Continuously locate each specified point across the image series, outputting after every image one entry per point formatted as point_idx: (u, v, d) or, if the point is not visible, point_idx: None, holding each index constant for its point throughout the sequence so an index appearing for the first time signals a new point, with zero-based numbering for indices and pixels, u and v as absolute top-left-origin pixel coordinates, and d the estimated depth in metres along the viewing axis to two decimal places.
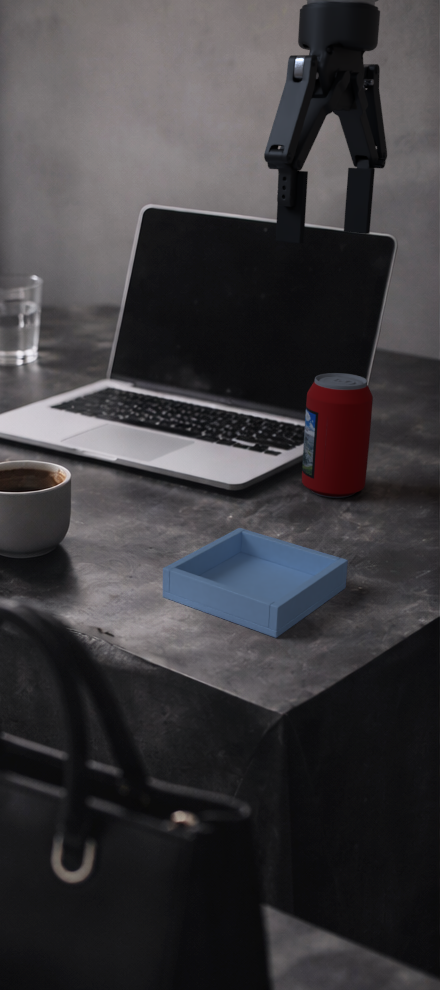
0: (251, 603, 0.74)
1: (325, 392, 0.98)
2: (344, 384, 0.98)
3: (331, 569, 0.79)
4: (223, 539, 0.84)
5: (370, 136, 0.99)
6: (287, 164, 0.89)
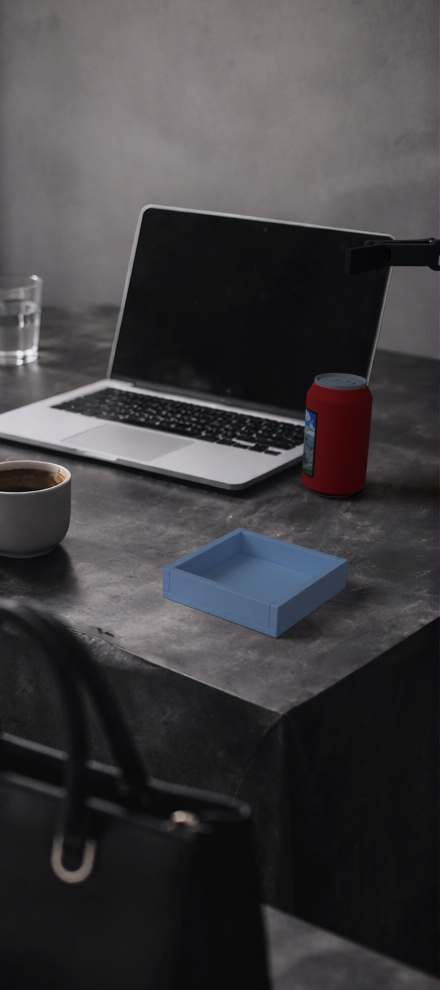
0: (251, 603, 0.74)
1: (325, 392, 0.98)
2: (344, 384, 0.98)
3: (331, 569, 0.79)
4: (223, 539, 0.84)
5: None
6: None
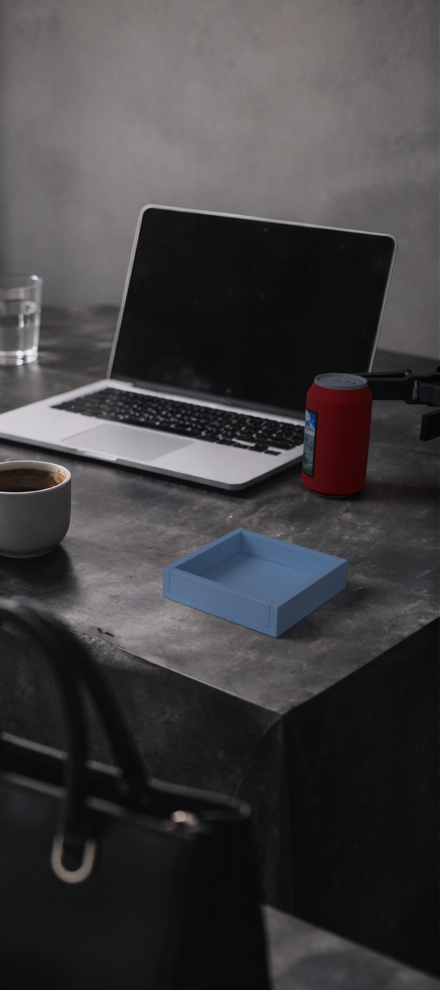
0: (251, 603, 0.74)
1: (324, 392, 0.98)
2: (344, 384, 0.98)
3: (331, 569, 0.79)
4: (223, 539, 0.84)
5: None
6: None
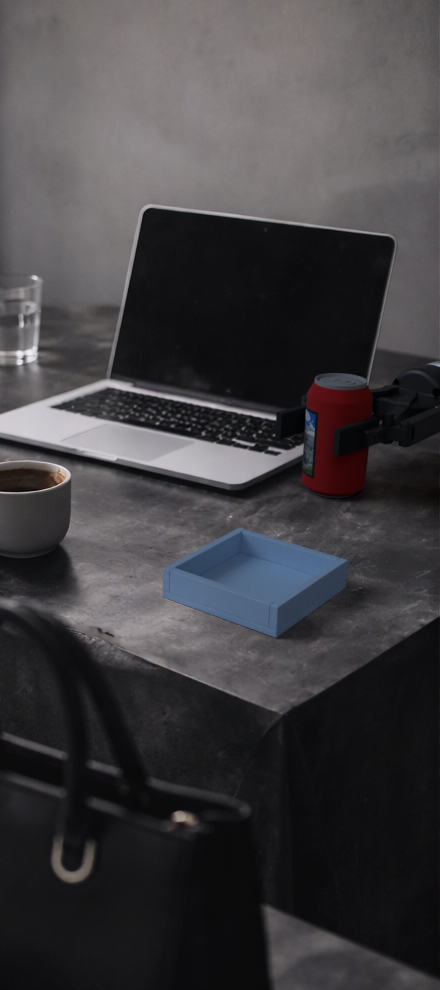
0: (251, 603, 0.74)
1: (325, 392, 0.98)
2: (344, 384, 0.98)
3: (331, 569, 0.79)
4: (223, 539, 0.84)
5: (398, 412, 1.02)
6: (306, 402, 1.06)
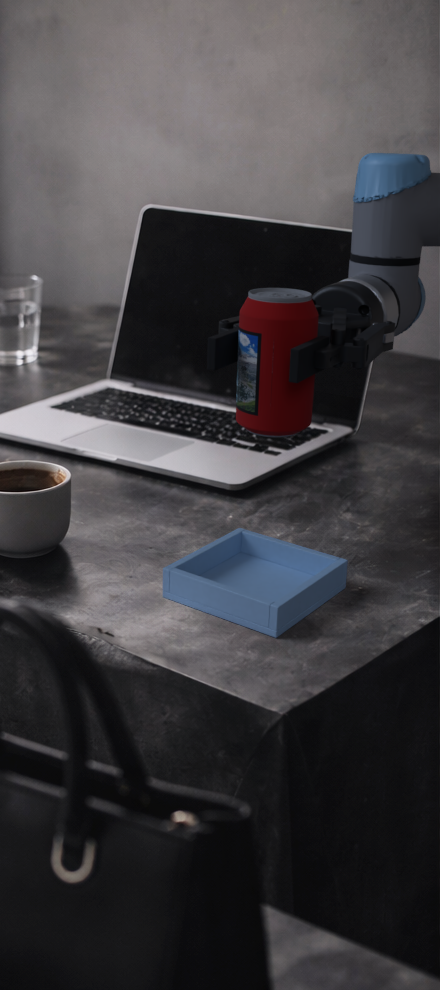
0: (251, 603, 0.74)
1: (268, 308, 0.80)
2: (287, 297, 0.81)
3: (331, 569, 0.79)
4: (223, 539, 0.84)
5: None
6: (226, 329, 0.88)
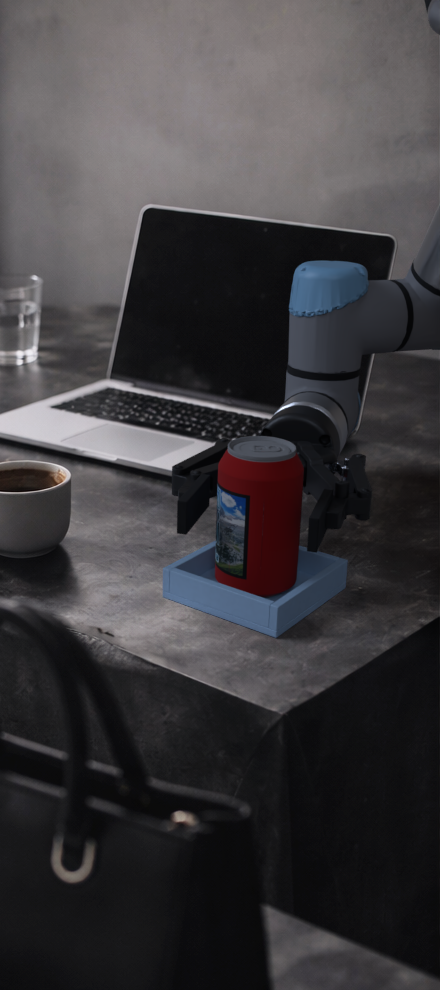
0: (251, 603, 0.74)
1: (256, 468, 0.74)
2: (273, 453, 0.75)
3: (331, 569, 0.79)
4: None
5: (331, 476, 0.81)
6: (181, 476, 0.82)
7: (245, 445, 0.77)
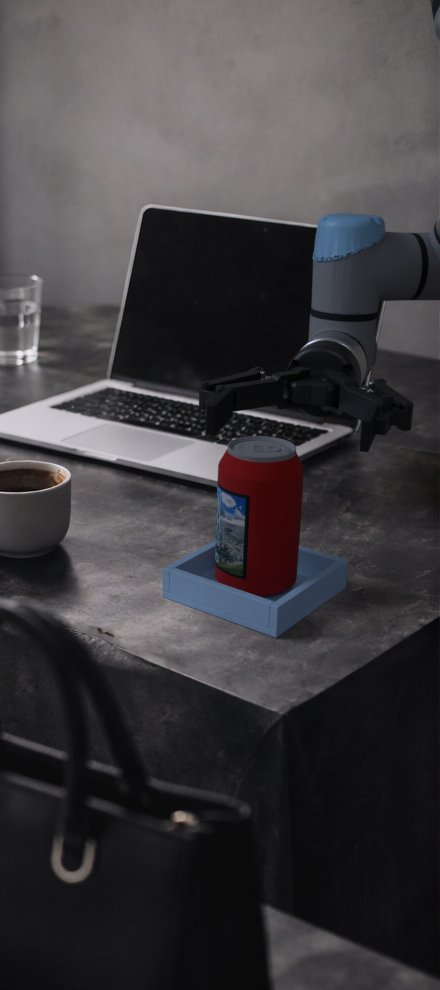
0: (251, 603, 0.74)
1: (256, 468, 0.74)
2: (272, 453, 0.75)
3: (331, 569, 0.79)
4: None
5: (369, 394, 0.91)
6: (207, 391, 0.93)
7: (245, 445, 0.77)
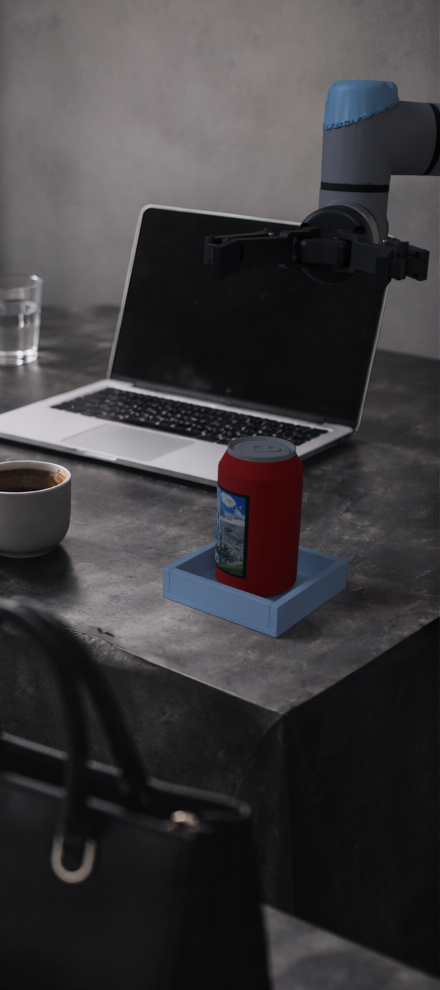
0: (251, 603, 0.74)
1: (256, 468, 0.74)
2: (272, 453, 0.75)
3: (331, 569, 0.79)
4: None
5: (383, 245, 0.87)
6: (213, 244, 0.89)
7: (245, 445, 0.77)
